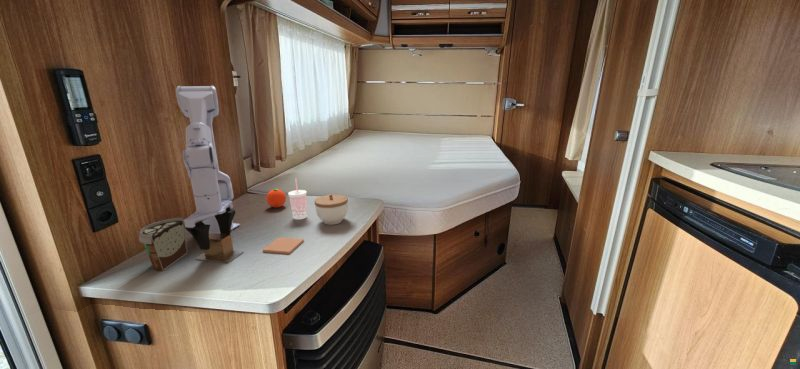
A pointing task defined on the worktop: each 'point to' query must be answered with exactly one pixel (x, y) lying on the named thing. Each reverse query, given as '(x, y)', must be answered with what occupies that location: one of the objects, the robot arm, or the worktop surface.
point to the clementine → (276, 198)
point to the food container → (164, 242)
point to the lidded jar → (331, 208)
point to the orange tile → (283, 245)
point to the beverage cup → (298, 203)
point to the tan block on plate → (220, 249)
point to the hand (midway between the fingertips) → (216, 242)
